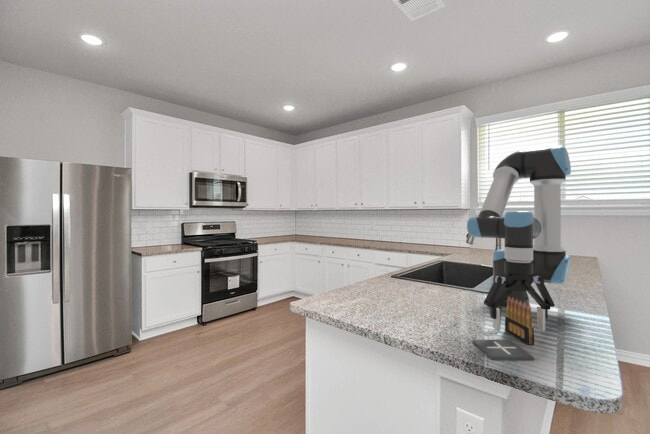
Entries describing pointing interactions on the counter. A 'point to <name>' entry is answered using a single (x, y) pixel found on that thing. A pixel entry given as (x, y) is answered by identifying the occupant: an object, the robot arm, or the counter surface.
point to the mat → (502, 350)
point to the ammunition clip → (519, 321)
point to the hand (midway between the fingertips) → (518, 329)
